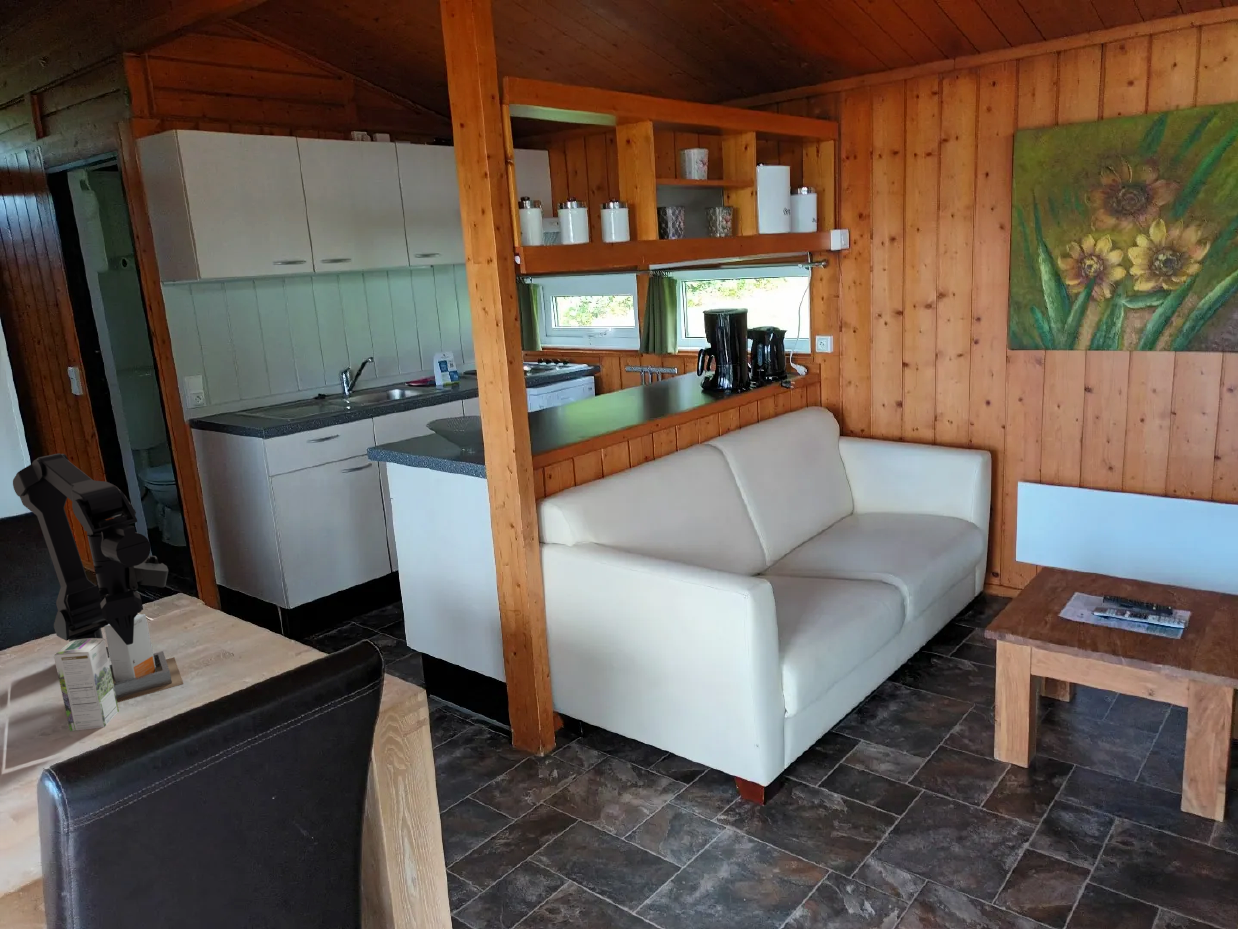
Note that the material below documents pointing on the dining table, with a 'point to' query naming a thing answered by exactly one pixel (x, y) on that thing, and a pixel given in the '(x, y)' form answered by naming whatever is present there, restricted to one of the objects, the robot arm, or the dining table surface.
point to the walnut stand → (175, 680)
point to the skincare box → (131, 651)
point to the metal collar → (144, 679)
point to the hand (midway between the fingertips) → (128, 636)
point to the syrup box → (86, 683)
